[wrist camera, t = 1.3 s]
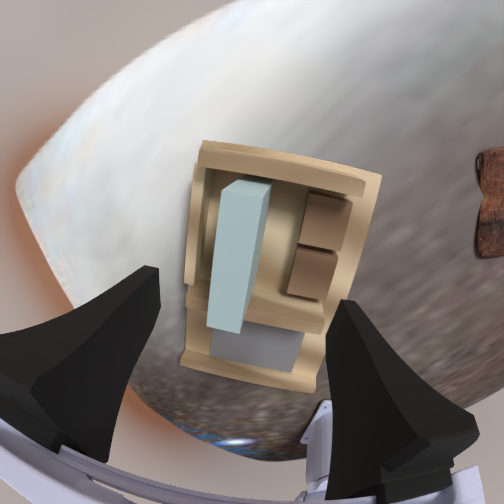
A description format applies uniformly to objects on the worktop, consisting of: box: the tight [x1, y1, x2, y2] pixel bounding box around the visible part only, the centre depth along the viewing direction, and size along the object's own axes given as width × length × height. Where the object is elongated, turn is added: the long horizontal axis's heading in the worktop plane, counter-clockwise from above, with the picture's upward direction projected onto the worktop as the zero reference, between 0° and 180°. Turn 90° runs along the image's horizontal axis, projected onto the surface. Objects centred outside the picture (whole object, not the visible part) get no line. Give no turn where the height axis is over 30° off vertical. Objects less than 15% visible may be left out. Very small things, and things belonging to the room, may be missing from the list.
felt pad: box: [209, 320, 305, 373], centre depth 25 cm, size 6×8×1 cm
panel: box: [206, 174, 274, 334], centre depth 18 cm, size 8×2×7 cm, turn 171°
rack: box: [180, 140, 382, 393], centre depth 21 cm, size 20×13×4 cm, turn 171°
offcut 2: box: [287, 243, 339, 301], centre depth 21 cm, size 4×3×2 cm
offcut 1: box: [299, 190, 353, 252], centre depth 20 cm, size 4×3×2 cm
